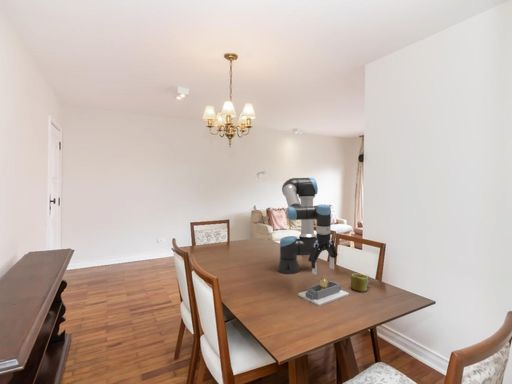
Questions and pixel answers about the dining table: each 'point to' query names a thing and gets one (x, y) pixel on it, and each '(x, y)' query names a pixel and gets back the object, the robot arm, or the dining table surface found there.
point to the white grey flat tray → (323, 293)
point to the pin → (323, 283)
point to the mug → (359, 282)
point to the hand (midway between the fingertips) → (323, 271)
